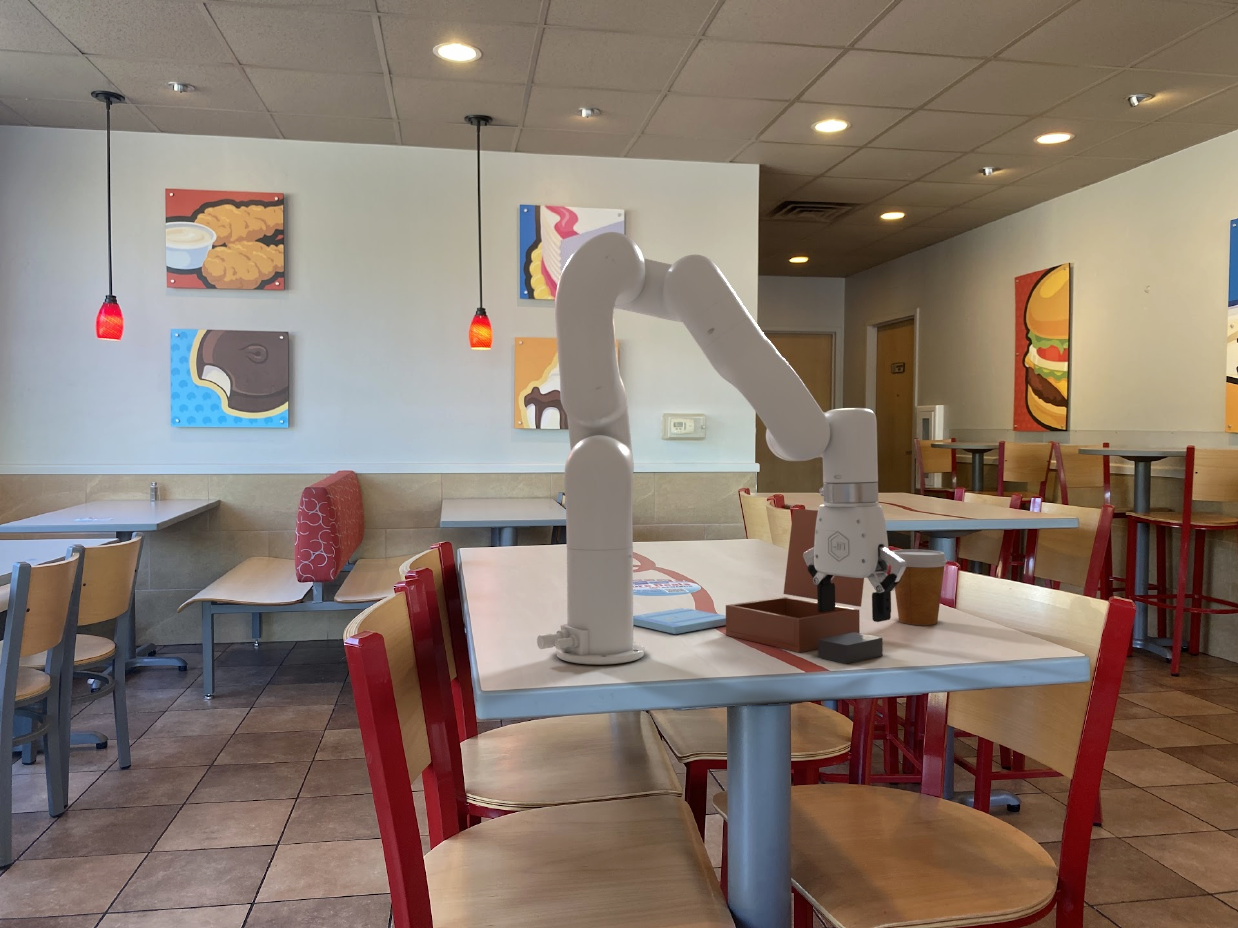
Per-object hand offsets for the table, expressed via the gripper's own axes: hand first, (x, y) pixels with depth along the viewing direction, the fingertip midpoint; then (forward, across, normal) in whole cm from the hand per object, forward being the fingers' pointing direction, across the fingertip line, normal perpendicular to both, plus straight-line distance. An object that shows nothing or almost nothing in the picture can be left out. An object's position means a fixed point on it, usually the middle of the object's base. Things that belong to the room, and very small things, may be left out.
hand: (853, 615), depth 122 cm
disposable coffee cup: (+6, -10, +30) cm, 32 cm away
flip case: (+6, -14, +3) cm, 16 cm away
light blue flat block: (+5, -33, -4) cm, 34 cm away
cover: (-7, -14, +10) cm, 19 cm away
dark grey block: (+6, 0, 0) cm, 6 cm away
